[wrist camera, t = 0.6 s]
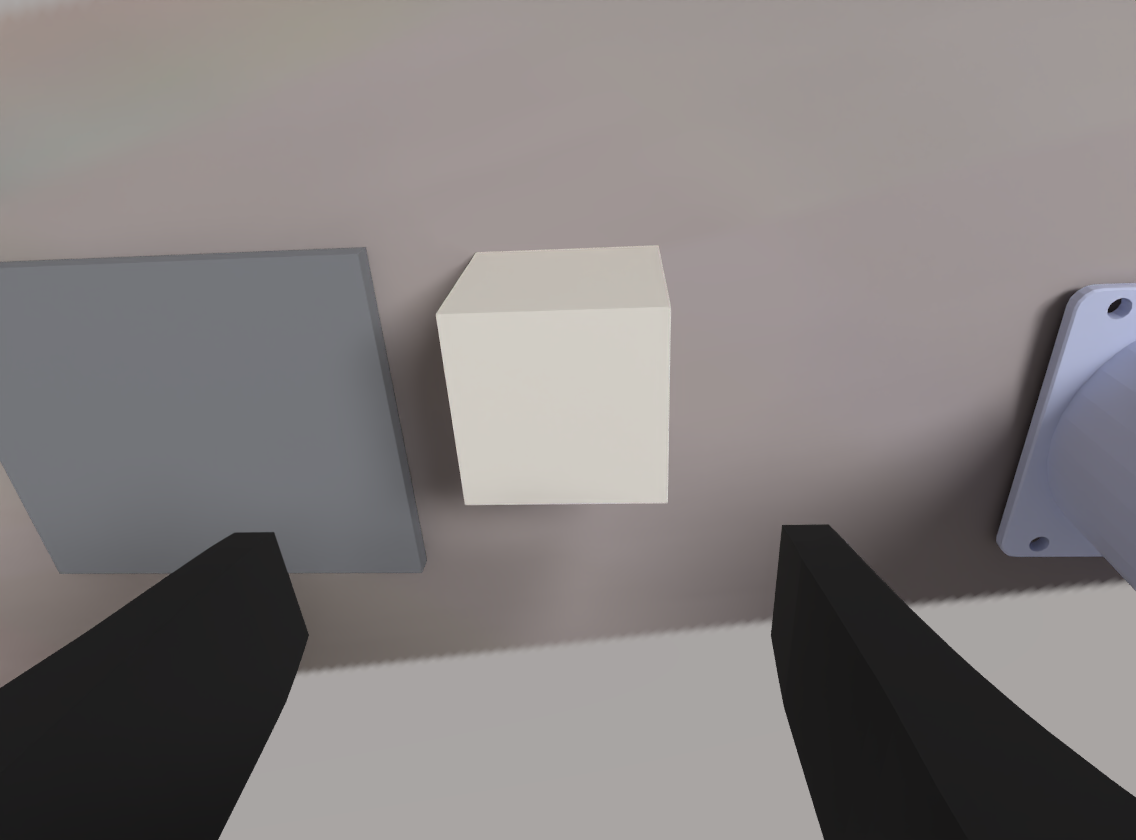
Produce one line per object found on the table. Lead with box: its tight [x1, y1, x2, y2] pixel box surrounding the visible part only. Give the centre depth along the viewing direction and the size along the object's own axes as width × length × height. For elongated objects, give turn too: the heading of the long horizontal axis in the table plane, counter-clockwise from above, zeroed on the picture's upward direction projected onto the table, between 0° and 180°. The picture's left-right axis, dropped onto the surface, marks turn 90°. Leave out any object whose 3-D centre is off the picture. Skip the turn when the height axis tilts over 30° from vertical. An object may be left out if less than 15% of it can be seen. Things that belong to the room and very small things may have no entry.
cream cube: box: [436, 245, 671, 505], centre depth 16 cm, size 4×4×4 cm
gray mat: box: [0, 247, 427, 574], centre depth 20 cm, size 12×10×1 cm
